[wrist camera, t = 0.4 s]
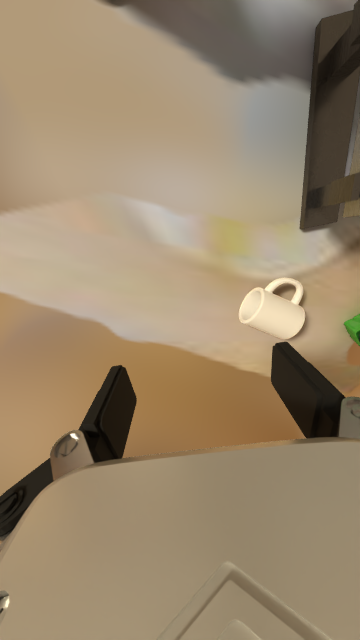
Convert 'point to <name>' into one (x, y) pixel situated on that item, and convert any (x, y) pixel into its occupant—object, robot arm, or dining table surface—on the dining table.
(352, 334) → the fruit basket
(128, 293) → the dining table surface
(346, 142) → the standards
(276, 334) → the mug
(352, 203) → the rail
